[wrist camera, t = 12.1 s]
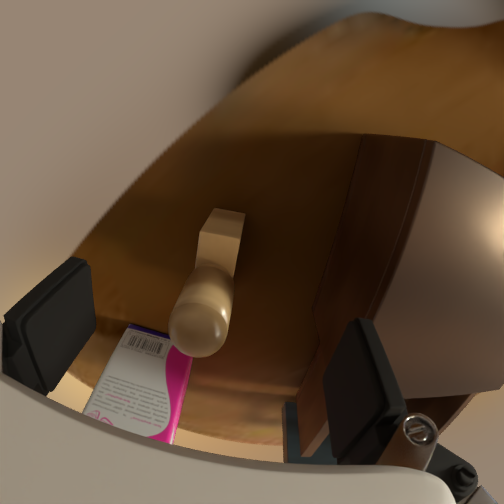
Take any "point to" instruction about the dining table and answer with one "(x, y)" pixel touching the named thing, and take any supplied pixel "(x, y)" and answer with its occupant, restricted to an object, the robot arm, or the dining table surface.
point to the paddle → (208, 288)
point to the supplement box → (142, 385)
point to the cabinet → (421, 266)
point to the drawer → (316, 422)
